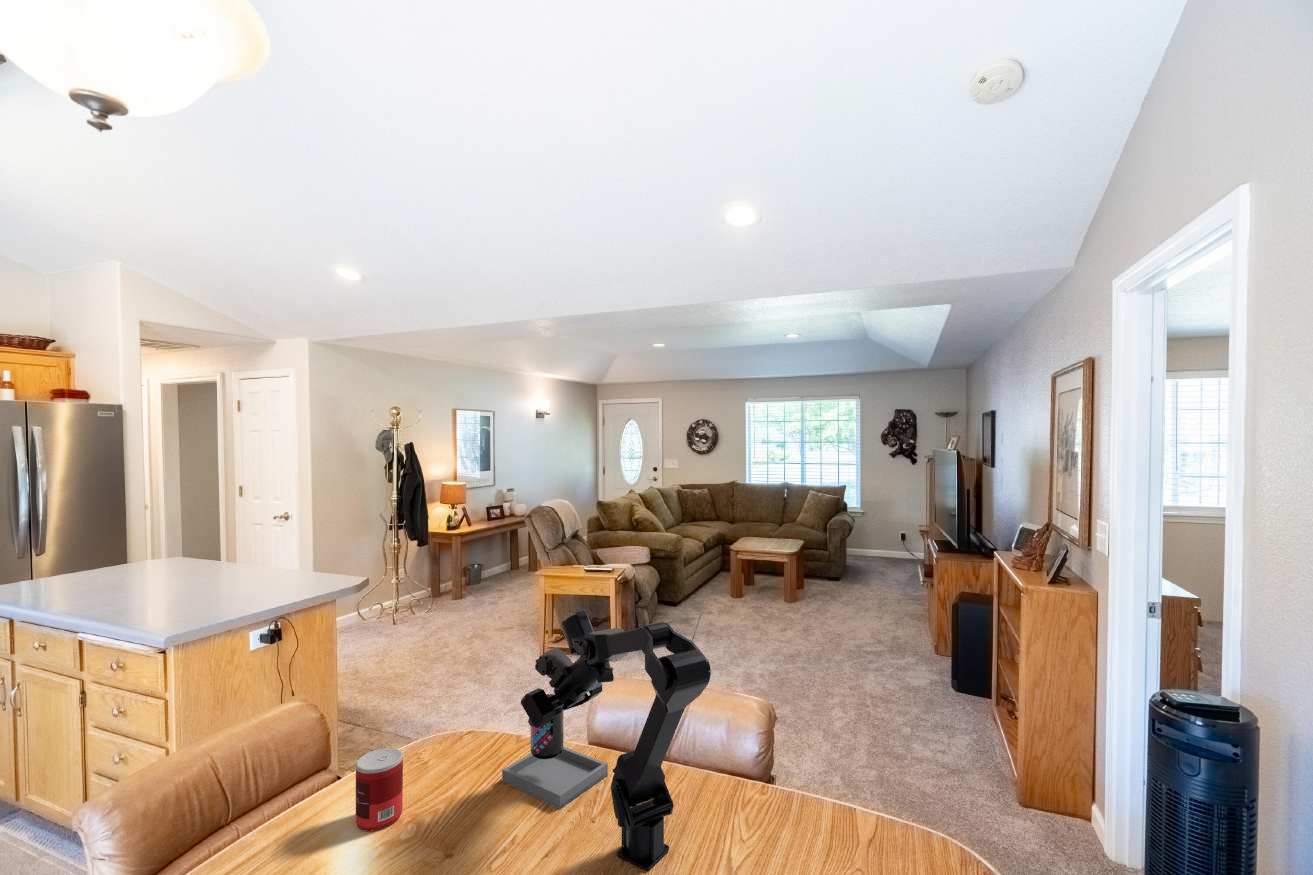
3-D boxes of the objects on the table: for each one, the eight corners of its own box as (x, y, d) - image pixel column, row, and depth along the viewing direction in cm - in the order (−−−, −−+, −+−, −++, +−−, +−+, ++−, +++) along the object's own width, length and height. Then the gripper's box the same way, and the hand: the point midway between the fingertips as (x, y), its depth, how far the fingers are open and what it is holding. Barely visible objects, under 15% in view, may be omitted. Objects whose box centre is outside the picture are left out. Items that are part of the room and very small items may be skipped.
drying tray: (607, 775, 126) (607, 763, 126) (560, 809, 115) (560, 795, 115) (551, 753, 135) (551, 741, 135) (502, 781, 124) (502, 769, 124)
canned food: (410, 806, 115) (410, 748, 115) (387, 833, 107) (388, 770, 107) (371, 804, 116) (372, 746, 116) (346, 831, 108) (346, 768, 108)
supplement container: (526, 747, 126) (527, 697, 126) (559, 741, 129) (559, 691, 129) (534, 763, 120) (534, 710, 120) (567, 756, 123) (567, 704, 123)
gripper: (591, 627, 130) (553, 669, 136) (527, 652, 115) (487, 698, 121) (621, 672, 126) (580, 713, 132) (559, 704, 110) (515, 749, 116)
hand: (542, 716), depth 125 cm, fingers closed on supplement container, 7 cm apart
